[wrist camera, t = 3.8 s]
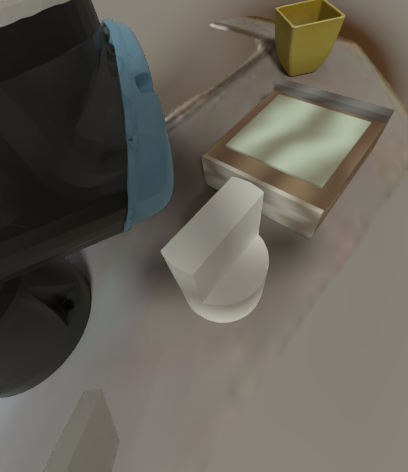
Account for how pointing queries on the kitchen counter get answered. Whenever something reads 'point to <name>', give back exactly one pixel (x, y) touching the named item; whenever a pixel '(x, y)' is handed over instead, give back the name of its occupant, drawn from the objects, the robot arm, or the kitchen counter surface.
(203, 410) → the kitchen counter surface
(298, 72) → the flower pot
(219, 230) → the cylinder with rectangular tab
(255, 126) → the dock
